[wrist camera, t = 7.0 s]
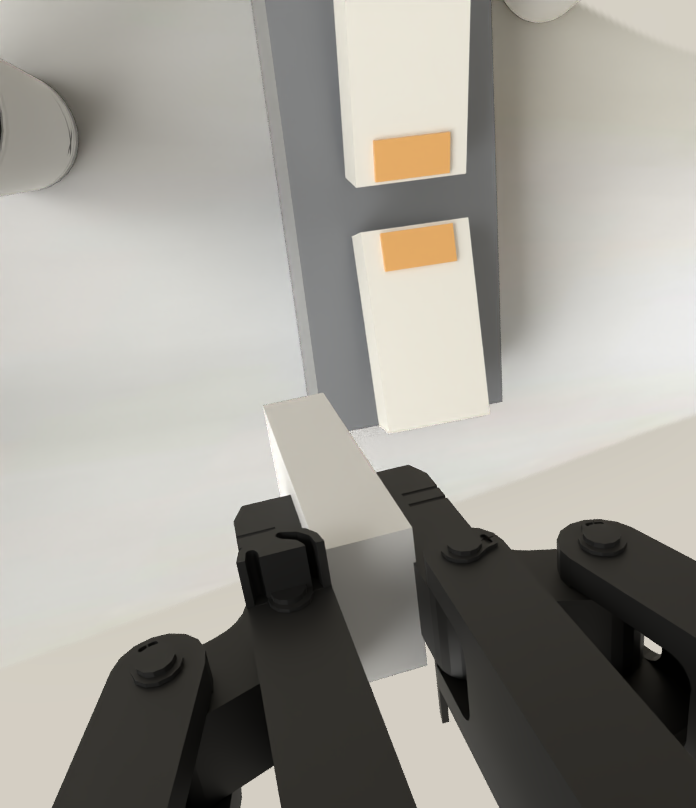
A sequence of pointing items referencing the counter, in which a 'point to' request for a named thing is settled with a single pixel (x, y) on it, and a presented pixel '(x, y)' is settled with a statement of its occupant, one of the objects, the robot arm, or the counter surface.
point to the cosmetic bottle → (540, 9)
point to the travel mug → (33, 133)
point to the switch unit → (363, 198)
